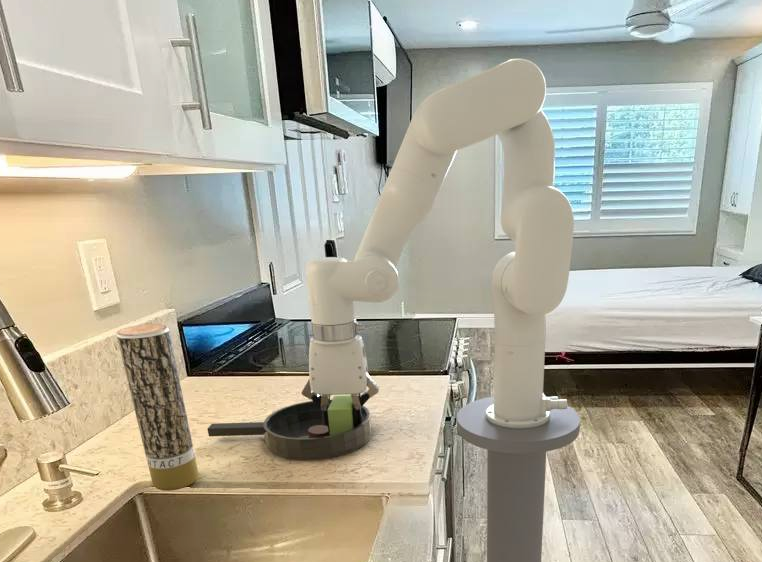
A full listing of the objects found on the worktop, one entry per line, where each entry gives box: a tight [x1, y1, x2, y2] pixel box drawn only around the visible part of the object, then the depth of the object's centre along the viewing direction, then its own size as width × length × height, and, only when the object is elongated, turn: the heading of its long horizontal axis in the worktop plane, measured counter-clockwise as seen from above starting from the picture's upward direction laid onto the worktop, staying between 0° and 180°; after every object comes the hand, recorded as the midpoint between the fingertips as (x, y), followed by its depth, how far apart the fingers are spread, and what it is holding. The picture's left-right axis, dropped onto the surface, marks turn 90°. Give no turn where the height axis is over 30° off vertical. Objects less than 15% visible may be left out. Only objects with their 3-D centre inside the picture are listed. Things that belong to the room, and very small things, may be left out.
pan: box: [263, 399, 373, 461], centre depth 106 cm, size 19×19×4 cm
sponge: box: [328, 394, 354, 436], centre depth 105 cm, size 4×7×6 cm, turn 1°
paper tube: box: [116, 323, 199, 492], centre depth 87 cm, size 7×7×25 cm
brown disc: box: [308, 425, 330, 438], centre depth 106 cm, size 4×4×1 cm
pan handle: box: [207, 421, 265, 437], centre depth 106 cm, size 10×2×2 cm, turn 91°
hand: (344, 426), depth 106 cm, fingers closed on sponge, 4 cm apart
